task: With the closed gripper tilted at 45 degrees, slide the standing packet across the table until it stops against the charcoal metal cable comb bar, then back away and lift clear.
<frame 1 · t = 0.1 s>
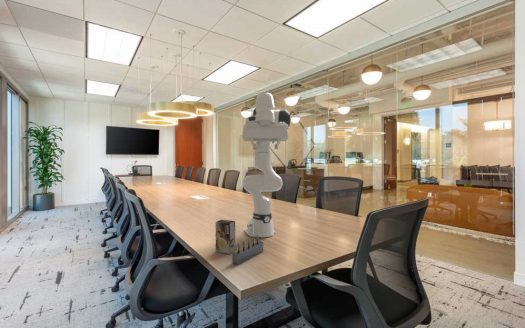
hand: (265, 148, 111), 54 cm above the table, tool tilted 30°, fingers open, 8 cm apart
coffee box: (225, 251, 139), on the table
cable comb: (248, 257, 130), on the table
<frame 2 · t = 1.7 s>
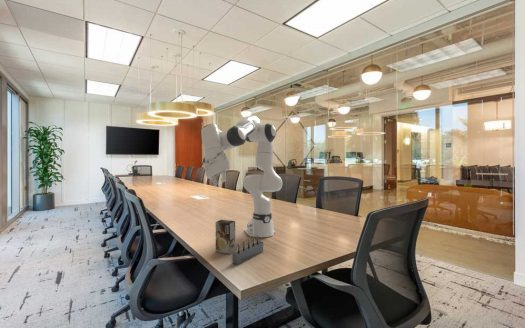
hand: (219, 183, 124), 38 cm above the table, tool tilted 15°, fingers open, 8 cm apart
nothing on the table moved.
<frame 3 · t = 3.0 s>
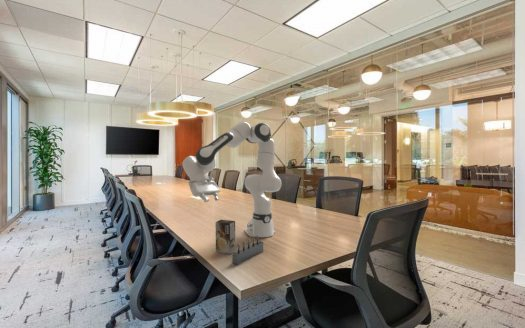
hand: (212, 200, 142), 26 cm above the table, tool tilted 40°, fingers open, 8 cm apart
nothing on the table moved.
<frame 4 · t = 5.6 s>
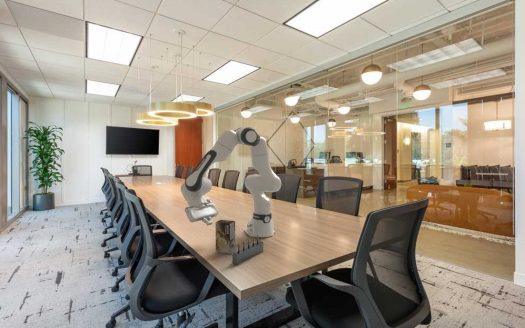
hand: (209, 224, 145), 13 cm above the table, tool tilted 45°, fingers closed
nothing on the table moved.
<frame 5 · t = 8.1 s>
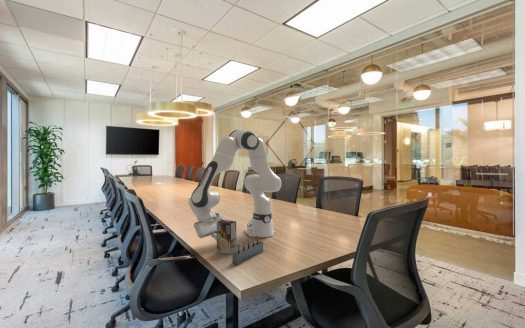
hand: (219, 239, 142), 5 cm above the table, tool tilted 45°, fingers closed
coffee box: (226, 251, 139), on the table, touching gripper
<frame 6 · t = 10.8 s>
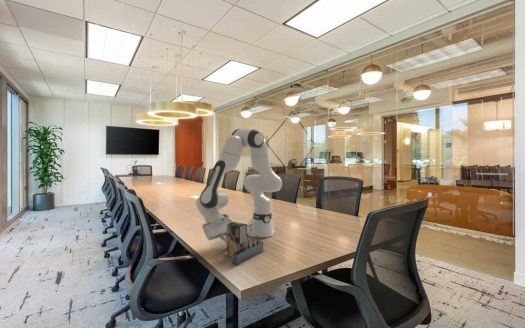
hand: (228, 241, 138), 5 cm above the table, tool tilted 45°, fingers closed
coffee box: (236, 255, 134), on the table
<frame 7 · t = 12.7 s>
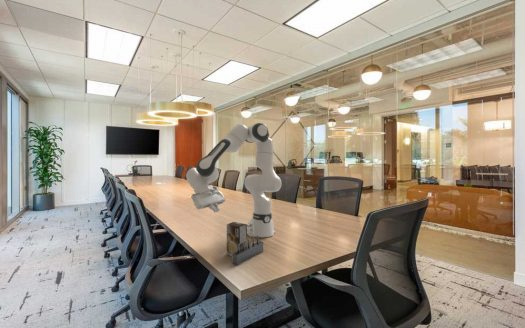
hand: (217, 211, 142), 21 cm above the table, tool tilted 45°, fingers closed
nothing on the table moved.
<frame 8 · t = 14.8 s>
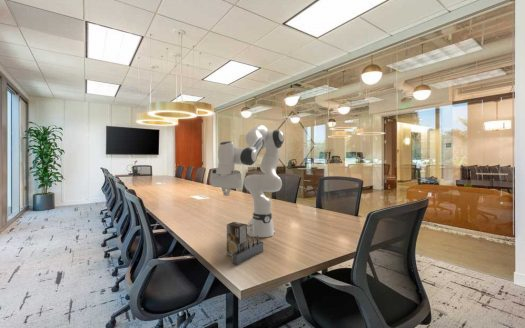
hand: (226, 195, 143), 29 cm above the table, tool pointing down, fingers closed
nothing on the table moved.
at the end: coffee box 7.0 cm from the cable comb (horizontally); coffee box tilted 0°; coffee box moved 8.6 cm from its start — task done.
